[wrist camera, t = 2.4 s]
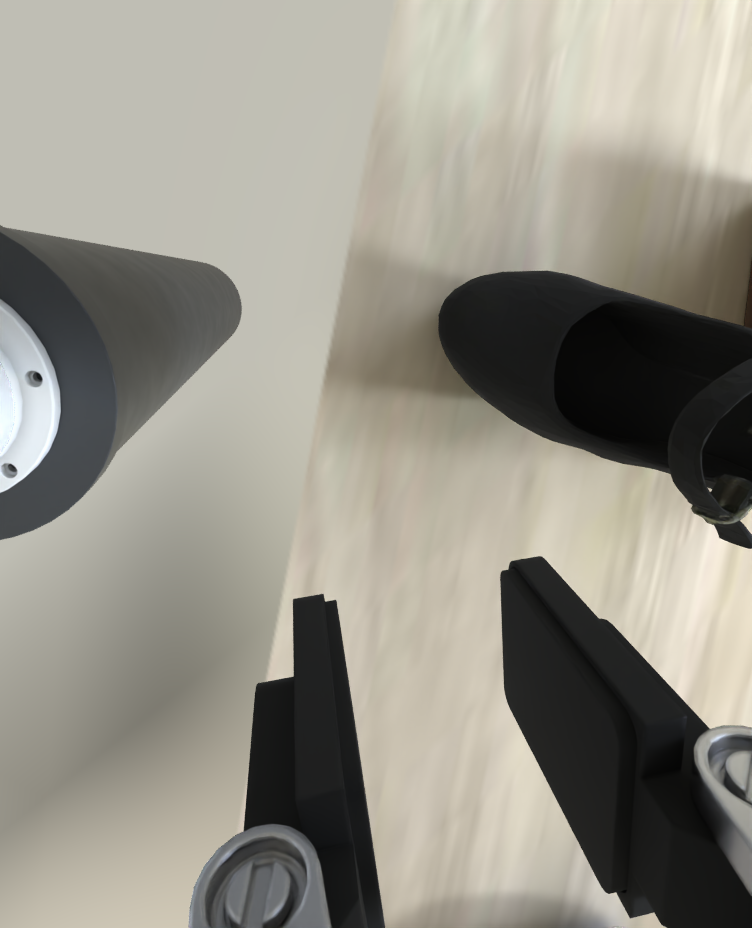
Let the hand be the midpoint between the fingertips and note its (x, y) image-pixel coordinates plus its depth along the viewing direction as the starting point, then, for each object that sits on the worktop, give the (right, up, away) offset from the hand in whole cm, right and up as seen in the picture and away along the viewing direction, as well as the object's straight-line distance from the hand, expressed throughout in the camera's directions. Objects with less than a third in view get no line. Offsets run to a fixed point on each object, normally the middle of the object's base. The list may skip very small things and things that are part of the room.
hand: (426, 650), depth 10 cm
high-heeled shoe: (+10, +9, +22) cm, 26 cm away
